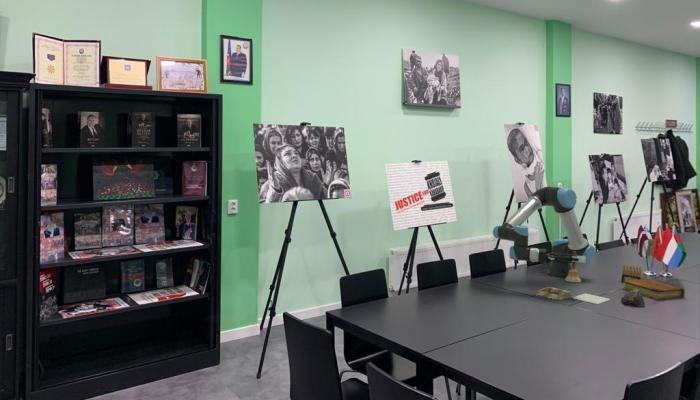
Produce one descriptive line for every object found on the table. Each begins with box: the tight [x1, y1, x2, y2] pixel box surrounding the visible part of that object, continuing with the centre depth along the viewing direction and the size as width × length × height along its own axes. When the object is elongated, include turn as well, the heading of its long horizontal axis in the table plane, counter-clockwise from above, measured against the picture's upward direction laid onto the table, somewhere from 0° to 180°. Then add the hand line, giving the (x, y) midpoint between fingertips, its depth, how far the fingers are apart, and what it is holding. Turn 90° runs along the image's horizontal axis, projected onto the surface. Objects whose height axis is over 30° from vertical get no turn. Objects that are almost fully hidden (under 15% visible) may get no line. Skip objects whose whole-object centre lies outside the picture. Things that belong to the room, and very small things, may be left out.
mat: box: [572, 293, 612, 305], centre depth 271 cm, size 14×14×1 cm
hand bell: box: [564, 251, 582, 283], centre depth 272 cm, size 8×8×16 cm
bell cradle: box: [535, 286, 573, 301], centre depth 278 cm, size 13×13×2 cm
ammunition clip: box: [620, 262, 642, 284], centre depth 305 cm, size 11×2×12 cm, turn 45°
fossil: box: [620, 289, 646, 308], centre depth 263 cm, size 11×9×10 cm
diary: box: [622, 278, 686, 301], centre depth 284 cm, size 23×19×6 cm
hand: (585, 259), depth 269 cm, fingers closed on hand bell, 3 cm apart
